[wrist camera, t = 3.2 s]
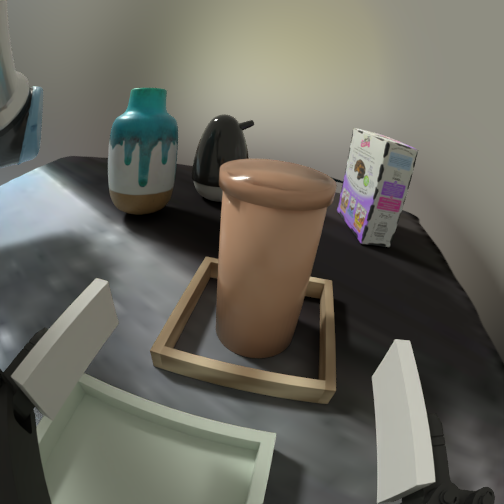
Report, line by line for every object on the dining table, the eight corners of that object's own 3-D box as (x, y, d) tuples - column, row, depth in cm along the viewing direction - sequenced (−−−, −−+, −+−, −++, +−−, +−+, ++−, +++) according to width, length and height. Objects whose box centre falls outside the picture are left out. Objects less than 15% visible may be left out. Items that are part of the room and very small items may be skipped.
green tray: (12, 522, 5) (-10, 514, 4) (85, 387, 17) (74, 368, 16) (225, 620, 4) (227, 631, 2) (269, 446, 16) (276, 433, 14)
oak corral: (153, 366, 20) (150, 350, 19) (205, 271, 32) (206, 256, 31) (327, 404, 19) (335, 390, 18) (327, 295, 30) (331, 280, 29)
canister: (201, 349, 22) (203, 179, 15) (224, 294, 29) (235, 154, 22) (292, 368, 22) (342, 203, 14) (298, 308, 28) (331, 170, 21)
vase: (156, 228, 38) (167, 85, 29) (95, 217, 38) (99, 88, 30) (182, 206, 47) (194, 92, 39) (129, 198, 48) (135, 92, 39)
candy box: (391, 248, 42) (420, 149, 34) (359, 245, 42) (387, 139, 33) (362, 213, 54) (381, 133, 45) (335, 209, 53) (352, 126, 45)
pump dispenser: (256, 205, 50) (266, 119, 42) (197, 209, 46) (202, 116, 38) (237, 186, 58) (244, 113, 50) (186, 189, 54) (190, 111, 46)
